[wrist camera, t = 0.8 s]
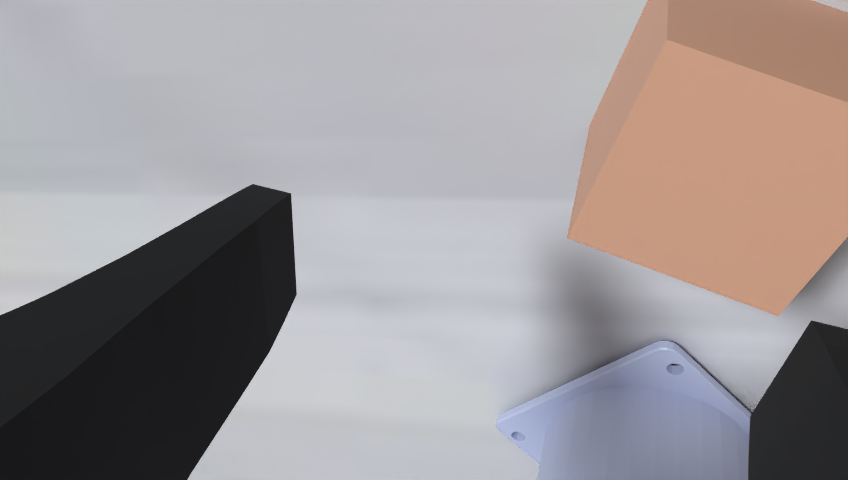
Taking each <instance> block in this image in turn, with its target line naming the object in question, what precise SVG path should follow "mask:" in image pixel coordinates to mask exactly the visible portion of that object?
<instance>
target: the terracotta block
mask: <svg viewBox="0 0 848 480" xmlns="http://www.w3.org/2000/svg"><path fill="white" fill-rule="evenodd" d="M847 237H848V13H847V12H844V11H841V10H839V9H836V8H833V7H830V6H827V5H824V4H821V3H818V2H815V1H812V0H648V1H647V3H646V5H645V8H644V10H643V12H642V14H641V16H640V18H639V20H638V23H637V25H636V27H635V29H634V31H633V33H632V36H631V38H630V40H629V42H628V44H627V46H626V48H625V51H624V53H623V55H622V57H621V59H620V61H619V63H618V66H617V68H616V70H615V72H614V74H613V76H612V79H611V81H610V83H609V85H608V87H607V89H606V91H605V94H604V96H603V98H602V100H601V102H600V104H599V107H598V109H597V111H596V113H595V115H594V117H593V119H592V122H591V124H590V127H589V132H588V137H587V142H586V147H585V152H584V157H583V162H582V166H581V171H580V176H579V181H578V186H577V191H576V196H575V201H574V206H573V211H572V216H571V221H570V226H569V231H568V235H567V238H569V239H571V240H574V241H577V242H579V243H582V244H585V245H588V246H590V247H593V248H596V249H598V250H601V251H604V252H607V253H609V254H612V255H615V256H617V257H620V258H623V259H625V260H628V261H631V262H634V263H636V264H639V265H642V266H644V267H647V268H650V269H652V270H655V271H658V272H661V273H663V274H666V275H669V276H671V277H674V278H677V279H679V280H682V281H685V282H688V283H690V284H693V285H696V286H698V287H701V288H704V289H706V290H709V291H712V292H715V293H717V294H720V295H723V296H725V297H728V298H731V299H733V300H736V301H739V302H742V303H744V304H747V305H750V306H752V307H755V308H758V309H760V310H763V311H766V312H769V313H771V314H774V315H777V316H779V315H780V314H781V312H782V311H783V310H784V309H785V308H786V307H787V306H788V304H789V303H790V302H791V301H792V300H793V299H794V298H795V296H796V295H797V294H798V293H799V292H800V291H801V290H802V288H803V287H804V286H805V285H806V284H807V283H808V282H809V280H810V279H811V278H812V277H813V276H814V275H815V274H816V272H817V271H818V270H819V269H820V268H821V267H822V266H823V264H824V263H825V262H826V261H827V260H828V259H829V258H830V257H831V255H832V254H833V253H834V252H835V251H836V250H837V249H838V247H839V246H840V245H841V244H842V243H843V242H844V241H845V239H846V238H847Z"/></svg>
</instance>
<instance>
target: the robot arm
mask: <svg viewBox="0 0 848 480" xmlns="http://www.w3.org/2000/svg"><path fill="white" fill-rule="evenodd" d="M295 297H296V276H295V258H294V240H293V222H292V204H291V193H287V192H283V191H279V190H274V189H270V188H266V187H262V186H258V185H254V184H252V185H250V186H248V187H246V188H244V189H242V190H241V191H239V192H237V193H235V194H233V195H231V196H230V197H228V198H226V199H224V200H223V201H221V202H219V203H217V204H216V205H214V206H212V207H210V208H209V209H207V210H205V211H203V212H202V213H200V214H198V215H196V216H195V217H193V218H191V219H190V220H188V221H186V222H184V223H183V224H181V225H179V226H177V227H175V228H174V229H172V230H170V231H168V232H167V233H165V234H163V235H161V236H159V237H158V238H156V239H154V240H152V241H150V242H149V243H147V244H145V245H143V246H141V247H140V248H138V249H136V250H134V251H132V252H131V253H129V254H127V255H125V256H123V257H121V258H119V259H117V260H115V261H113V262H111V263H109V264H107V265H105V266H103V267H101V268H99V269H97V270H96V271H94V272H92V273H90V274H88V275H86V276H84V277H82V278H80V279H78V280H76V281H74V282H72V283H70V284H68V285H66V286H64V287H62V288H60V289H58V290H56V291H54V292H52V293H50V294H47V295H45V296H43V297H41V298H39V299H37V300H35V301H32V302H30V303H28V304H26V305H23V306H21V307H19V308H17V309H14V310H12V311H10V312H7V313H5V314H2V315H0V480H187V479H188V477H189V476H190V474H191V472H192V471H193V469H194V468H195V466H196V465H197V463H198V462H199V460H200V458H201V457H202V455H203V454H204V452H205V451H206V449H207V448H208V446H209V445H210V443H211V442H212V440H213V438H214V437H215V435H216V434H217V432H218V431H219V429H220V428H221V426H222V425H223V423H224V422H225V420H226V418H227V417H228V415H229V414H230V412H231V411H232V409H233V408H234V406H235V405H236V403H237V402H238V400H239V399H240V397H241V395H242V394H243V392H244V391H245V389H246V388H247V386H248V385H249V383H250V381H251V380H252V378H253V377H254V375H255V374H256V372H257V370H258V369H259V367H260V366H261V364H262V363H263V361H264V359H265V358H266V356H267V355H268V353H269V351H270V349H271V347H272V345H273V343H274V341H275V339H276V337H277V335H278V333H279V331H280V329H281V327H282V325H283V323H284V321H285V318H286V316H287V314H288V312H289V310H290V308H291V305H292V303H293V301H294V299H295ZM673 363H675V364H680V365H678V366H674V365H671V364H673ZM496 427H497V429H498V430H499V431H500V432H501V433H502V434H503V435H504V436H506V437H507V438H508V439H509V440H511V441H512V442H513V443H514V444H516V445H517V446H518V447H519V448H521V449H522V450H523V451H524V452H526V453H527V454H528V455H529V456H531V457H532V458H533V459H534V460H535V461H537V462H538V463H539V464H540V465H539V471H538V477H537V480H848V329H844V328H840V327H836V326H832V325H828V324H823V323H819V322H815V321H811V322H810V323H809V325H808V327H807V328H806V330H805V331H804V333H803V334H802V336H801V337H800V339H799V341H798V342H797V344H796V345H795V347H794V348H793V350H792V352H791V353H790V355H789V356H788V358H787V359H786V361H785V363H784V364H783V366H782V367H781V369H780V370H779V372H778V374H777V375H776V377H775V378H774V380H773V381H772V383H771V385H770V386H769V388H768V389H767V391H766V392H765V394H764V396H763V397H762V399H761V400H760V402H759V403H758V405H757V407H756V408H755V410H754V411H753V413H752V414H751V413H750V412H749V411H748V410H747V409H746V408H745V407H744V406H743V405H741V404H740V403H739V402H738V401H737V400H736V399H735V398H734V397H733V396H732V395H731V394H730V393H729V392H728V391H726V390H725V389H724V388H723V387H722V386H721V385H720V384H719V383H718V382H717V381H716V380H715V379H714V378H713V377H711V376H710V375H709V374H708V373H707V372H706V371H705V370H704V369H703V368H702V367H701V366H700V365H699V364H698V363H696V362H695V361H694V360H693V359H692V358H691V357H690V356H689V355H688V354H687V353H686V352H685V351H684V350H683V349H681V348H680V347H679V346H678V345H677V344H675V343H673V342H670V341H658V342H655V343H652V344H650V345H648V346H646V347H644V348H642V349H640V350H637V351H635V352H633V353H631V354H629V355H627V356H624V357H622V358H620V359H618V360H616V361H614V362H612V363H609V364H607V365H605V366H603V367H601V368H599V369H597V370H594V371H592V372H590V373H588V374H586V375H584V376H581V377H579V378H577V379H575V380H573V381H571V382H569V383H566V384H564V385H562V386H560V387H558V388H556V389H554V390H551V391H549V392H547V393H545V394H543V395H541V396H538V397H536V398H534V399H532V400H530V401H528V402H526V403H523V404H521V405H519V406H517V407H515V408H513V409H511V410H508V411H506V412H504V413H502V414H500V415H499V416H498V420H497V424H496Z"/></svg>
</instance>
